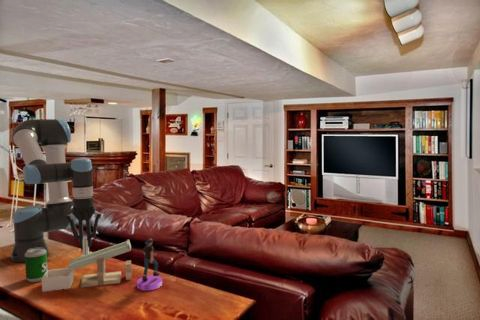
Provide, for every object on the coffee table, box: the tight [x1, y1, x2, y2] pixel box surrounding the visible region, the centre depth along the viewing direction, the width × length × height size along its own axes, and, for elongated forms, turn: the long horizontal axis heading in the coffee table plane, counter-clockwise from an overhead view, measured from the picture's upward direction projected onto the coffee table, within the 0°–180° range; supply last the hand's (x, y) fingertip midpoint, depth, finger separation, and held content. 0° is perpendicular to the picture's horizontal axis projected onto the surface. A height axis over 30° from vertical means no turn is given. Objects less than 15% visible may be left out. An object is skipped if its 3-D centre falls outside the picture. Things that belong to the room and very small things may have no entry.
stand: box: [80, 256, 132, 288], centre depth 139 cm, size 8×18×11 cm, turn 106°
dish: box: [41, 267, 75, 293], centre depth 135 cm, size 8×9×5 cm
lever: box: [66, 239, 132, 272], centre depth 142 cm, size 14×23×3 cm, turn 106°
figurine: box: [136, 237, 163, 291], centre depth 135 cm, size 9×9×18 cm
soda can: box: [24, 247, 49, 283], centre depth 141 cm, size 8×8×12 cm
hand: (86, 254), depth 144 cm, fingers closed
